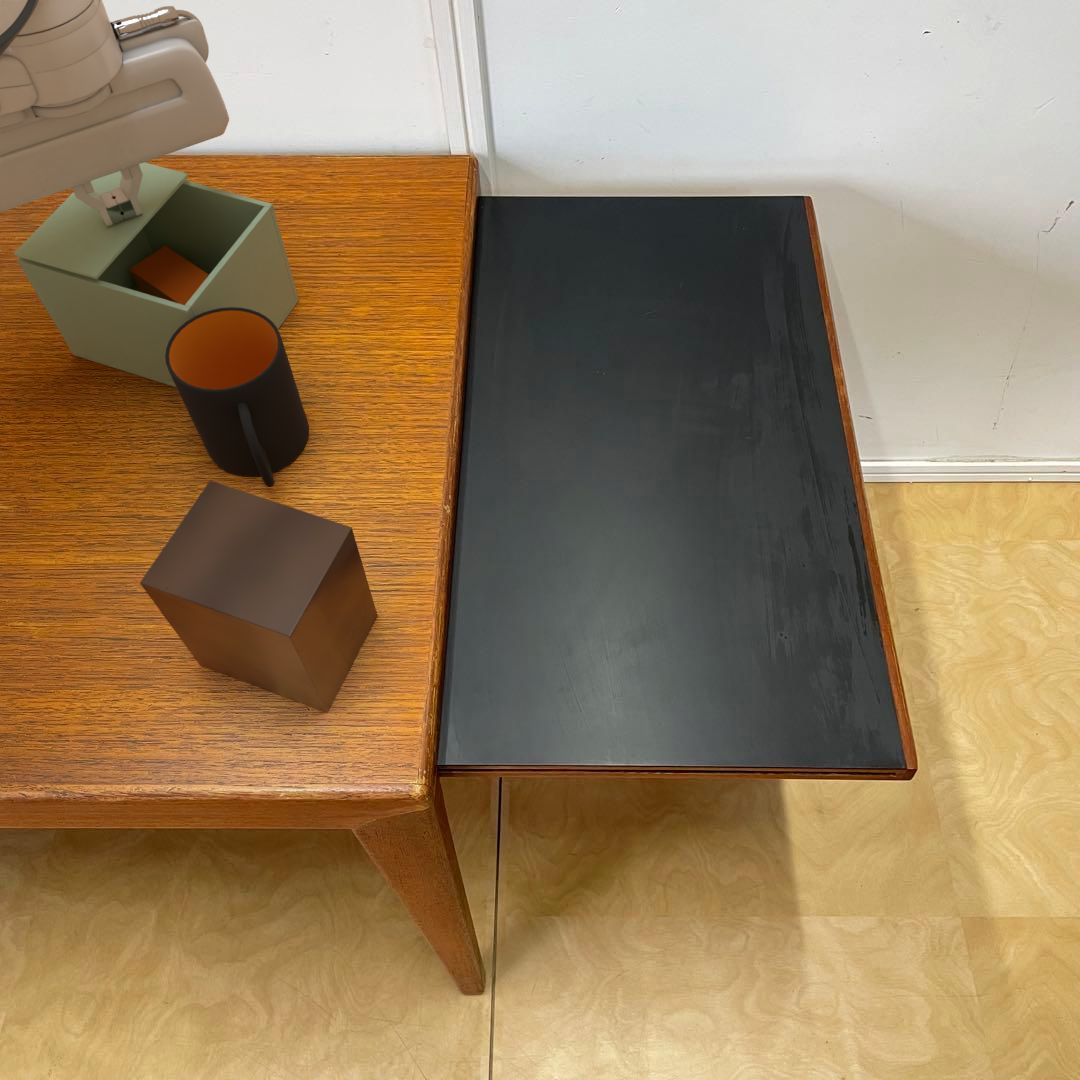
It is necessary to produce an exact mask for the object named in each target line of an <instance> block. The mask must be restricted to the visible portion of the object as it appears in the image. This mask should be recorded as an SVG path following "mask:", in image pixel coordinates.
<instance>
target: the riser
mask: <svg viewBox="0 0 1080 1080" xmlns="http://www.w3.org/2000/svg"><path fill="white" fill-rule="evenodd" d="M139 584H140V585H141V587H142V588H143V590H144V591H145V592H146V594H147V595H148V597H149V598H150V599H151V601H152V602H153V603H154V604H155V606H156V607H157V609H158V610H159V612H160V613H161V615H162V616H163V617H164V618H165V619H166V621H167V622H168V623H169V625H170V626H171V628H172V629H173V631H174V632H175V633H176V634H177V636H178V638H180V641H182V643H183V644H184V646H185V648H187V650H188V651H189V653H190V654H191V655H192V657H193V658H194V659H195V660H196V662H197V663H198V665H199V666H201V667H203V668H206V669H209V670H212V671H214V672H217V673H220V674H223V675H225V676H227V677H229V678H233V679H236V680H238V681H241V682H243V683H246V684H249V685H252V686H255V687H257V688H260V689H262V690H265V691H268V692H271V693H273V694H276V695H279V696H281V697H284V698H287V699H289V700H292V701H295V702H298V703H300V704H302V705H306V706H309V707H311V708H313V709H317V710H319V711H322V712H324V713H329V710H330V708H331V706H332V704H333V703H334V701H335V699H336V697H337V695H338V693H339V691H340V689H341V687H342V685H343V683H344V681H345V679H346V678H347V676H348V674H349V671H350V670H351V667H352V666H353V664H354V662H355V661H356V658H357V656H358V654H359V653H360V650H361V648H362V646H363V644H365V641H366V639H367V637H368V635H369V633H370V631H371V629H372V627H373V626H374V623H375V622H376V619H377V618H378V612H377V608H376V605H375V601H374V599H373V595H372V592H371V587H370V584H369V581H368V577H367V575H366V571H365V568H364V565H363V561H362V558H361V554H360V550H359V547H358V543H357V541H356V537H355V534H354V531H353V528H352V527H351V526H349V525H346V524H343V523H340V522H337V521H333V520H331V519H329V518H325V517H322V516H319V515H316V514H313V513H309V512H307V511H304V510H301V509H298V508H294V507H291V506H289V505H286V504H283V503H280V502H277V501H273V500H271V499H267V498H264V497H262V496H258V495H255V494H252V493H249V492H246V491H244V490H242V489H241V490H240V489H237V488H235V487H232V486H228V485H226V484H222V483H219V482H217V481H213V480H209V481H208V483H207V484H206V485H205V487H204V488H203V490H202V491H201V493H200V494H199V496H198V497H197V499H196V500H195V501H194V503H193V505H192V506H191V507H190V509H189V510H188V511H187V513H186V515H185V516H184V517H183V519H182V521H181V522H180V524H179V525H178V526H177V528H176V529H175V531H174V532H173V534H172V535H171V537H170V538H169V540H168V541H167V543H165V545H164V547H163V548H162V550H161V551H160V553H159V554H158V555H157V557H156V558H155V560H154V562H153V563H152V564H151V566H149V568H148V570H147V572H146V573H145V574H144V576H143V577H142V579H141V580H140V583H139Z"/></svg>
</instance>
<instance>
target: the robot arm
mask: <svg viewBox="0 0 1080 1080" xmlns="http://www.w3.org/2000/svg"><path fill="white" fill-rule="evenodd" d="M209 52H210V49H209V42H208V39H207V36H206V32H205V29H204V26H203V24H202V22H201V21H200V19H199V18H198V17H197V16H196V15H195V14H193V13H192V12H190V11H187V10H184V9H176V8H175V6H173V5H165V6H161V7H158V8H155V9H154V10H153V11H150V12H147V13H141V14H138V15H131V16H128V17H124V18H121V19H118V20H113V21H111V20H110V18H109V15H108V12H107V10H106V7H105V5H104V2H103V0H0V213H4V212H6V211H9V210H12V209H15V208H18V207H20V206H21V207H22V206H23V205H26V204H29V203H32V202H35V201H38V200H42V199H44V198H47V197H49V196H52V195H55V194H58V193H61V192H64V191H67V190H69V189H71V191H72V193H73V192H74V194H75V196H76V197H77V198H78V199H80V200H81V201H83V202H84V203H86V204H87V205H89V206H91V207H92V208H94V209H95V210H97V211H98V213H99V214H100V216H101V218H102V220H103V221H104V223H105V225H106V226H107V227H109V226H111V225H114V224H117V223H120V222H122V221H125V220H127V219H130V218H133V217H136V216H139V215H141V214H143V212H142V210H141V207H140V205H139V203H138V200H137V198H136V197H138V193H139V189H140V184H141V180H142V176H143V174H142V171H141V169H140V166H139V164H141V163H144V162H145V163H148V162H149V161H153V160H155V159H158V158H161V157H164V156H166V155H169V154H172V153H175V152H178V151H180V150H183V149H186V148H187V149H188V148H189V147H192V146H195V145H199V144H201V143H204V142H206V141H209V140H213V139H215V138H218V137H221V136H223V135H224V134H225V132H226V130H227V128H228V124H229V123H230V115H229V112H228V109H227V107H226V106H227V105H226V104H225V101H224V98H223V96H222V93H221V91H220V89H219V87H218V84H217V83H216V81H215V78H214V76H213V74H212V72H211V70H210V68H209V66H208V65H207V61H208V58H209ZM118 171H120V173H121V181H120V188H117V189H115V190H112V191H109V192H106V193H103V194H100V195H99V194H98V193H97V192H95V191H94V189H93V186H92V184H91V182H90V181H92V180H95V179H98V178H101V177H104V176H107V175H109V174H112V173H115V172H118Z"/></svg>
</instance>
